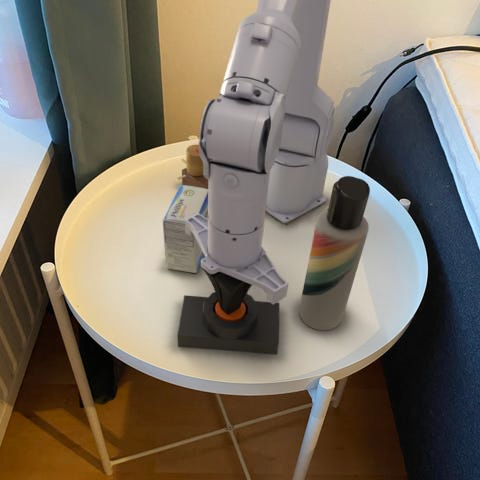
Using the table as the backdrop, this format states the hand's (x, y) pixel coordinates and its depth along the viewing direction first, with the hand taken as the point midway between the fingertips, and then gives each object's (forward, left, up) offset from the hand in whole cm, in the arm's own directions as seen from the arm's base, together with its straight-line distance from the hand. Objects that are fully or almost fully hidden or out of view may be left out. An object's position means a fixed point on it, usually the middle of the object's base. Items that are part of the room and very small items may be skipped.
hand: (230, 308), depth 65 cm
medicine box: (-5, -14, -4) cm, 16 cm away
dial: (-16, -26, -1) cm, 30 cm away
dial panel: (-18, -25, -4) cm, 31 cm away
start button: (0, 0, -2) cm, 2 cm away
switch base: (0, 0, -4) cm, 4 cm away
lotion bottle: (-11, +5, -4) cm, 13 cm away
